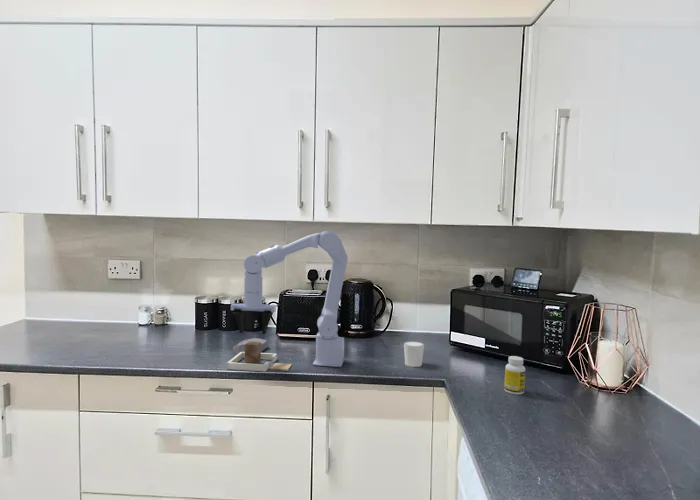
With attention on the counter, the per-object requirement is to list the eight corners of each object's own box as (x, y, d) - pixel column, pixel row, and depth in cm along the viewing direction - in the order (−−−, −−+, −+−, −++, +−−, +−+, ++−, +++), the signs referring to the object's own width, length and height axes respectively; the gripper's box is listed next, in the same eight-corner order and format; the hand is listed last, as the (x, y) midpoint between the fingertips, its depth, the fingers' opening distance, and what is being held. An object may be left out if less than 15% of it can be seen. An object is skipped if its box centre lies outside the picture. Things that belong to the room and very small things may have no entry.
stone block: (231, 359, 158) (257, 356, 156) (229, 346, 158) (255, 342, 156) (245, 351, 170) (270, 348, 168) (243, 339, 170) (268, 335, 168)
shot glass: (411, 359, 156) (412, 340, 156) (427, 364, 152) (428, 344, 151) (399, 363, 152) (399, 343, 151) (415, 368, 147) (416, 347, 146)
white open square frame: (276, 359, 153) (276, 353, 153) (265, 371, 141) (265, 365, 140) (240, 357, 154) (240, 351, 154) (226, 369, 142) (226, 362, 142)
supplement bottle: (522, 396, 125) (523, 362, 124) (502, 392, 128) (503, 358, 127) (526, 390, 130) (527, 357, 129) (506, 386, 132) (508, 354, 132)
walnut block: (260, 362, 149) (260, 342, 149) (256, 366, 145) (256, 345, 145) (248, 362, 150) (249, 341, 149) (244, 365, 146) (244, 344, 145)
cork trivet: (291, 365, 147) (291, 364, 147) (287, 370, 142) (287, 369, 142) (275, 364, 148) (275, 363, 148) (270, 369, 142) (270, 368, 142)
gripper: (278, 290, 149) (277, 331, 150) (236, 288, 151) (236, 328, 152) (272, 293, 142) (271, 336, 143) (228, 292, 144) (228, 333, 145)
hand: (253, 332), depth 147 cm, fingers open, 7 cm apart
